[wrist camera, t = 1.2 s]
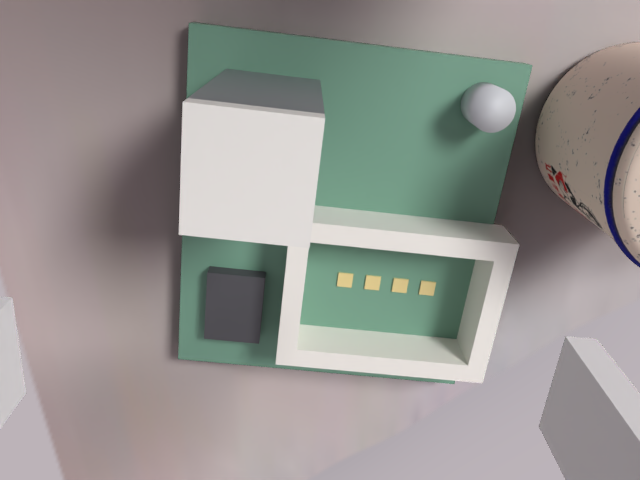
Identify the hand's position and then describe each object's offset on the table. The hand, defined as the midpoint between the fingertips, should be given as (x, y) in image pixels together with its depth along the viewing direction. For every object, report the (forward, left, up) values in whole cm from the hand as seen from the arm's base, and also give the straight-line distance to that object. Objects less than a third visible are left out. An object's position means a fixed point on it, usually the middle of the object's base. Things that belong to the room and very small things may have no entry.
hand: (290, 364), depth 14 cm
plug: (-3, -2, -16) cm, 17 cm away
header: (+5, +5, -16) cm, 18 cm away
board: (+2, +2, -17) cm, 18 cm away
